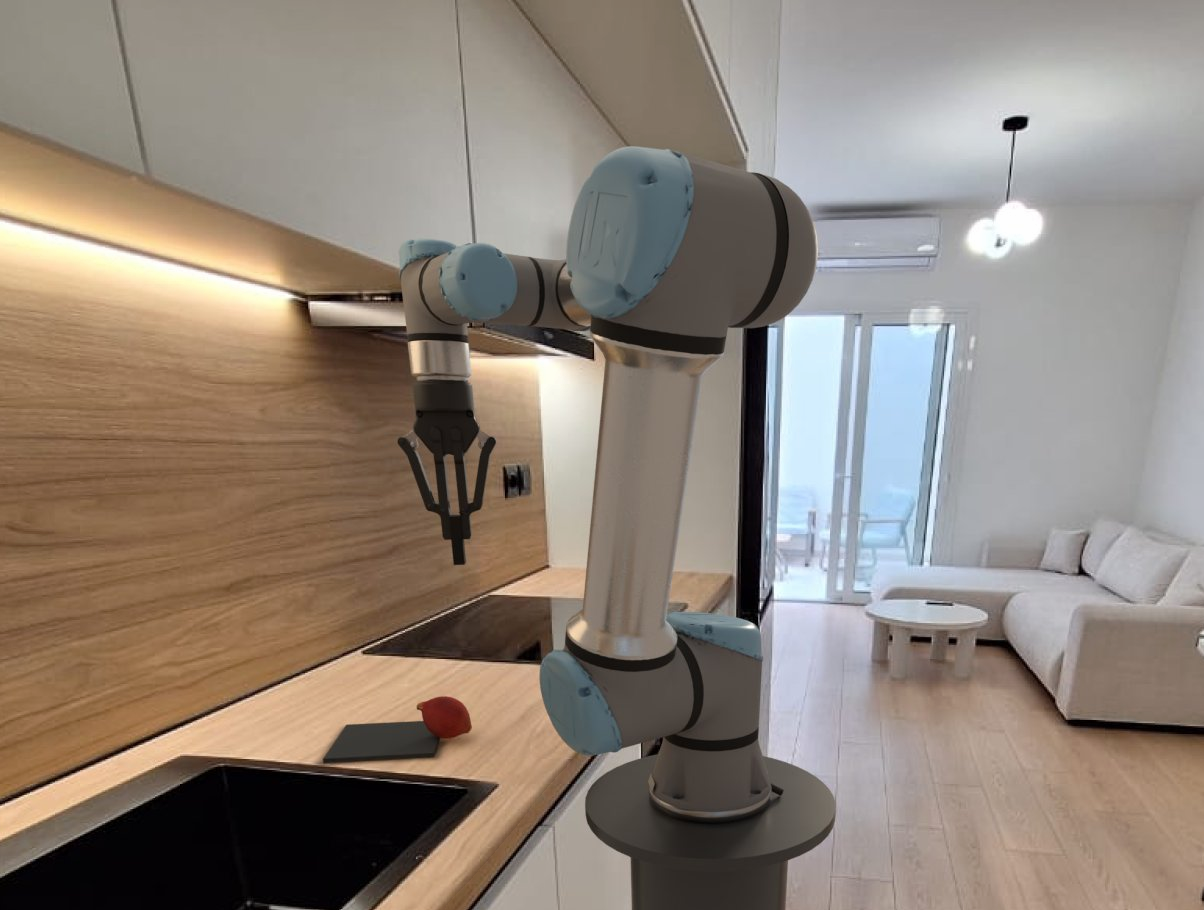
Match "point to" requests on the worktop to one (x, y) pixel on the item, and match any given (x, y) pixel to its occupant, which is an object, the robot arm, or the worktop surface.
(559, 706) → the robot arm
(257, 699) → the worktop surface
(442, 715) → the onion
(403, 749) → the mat
